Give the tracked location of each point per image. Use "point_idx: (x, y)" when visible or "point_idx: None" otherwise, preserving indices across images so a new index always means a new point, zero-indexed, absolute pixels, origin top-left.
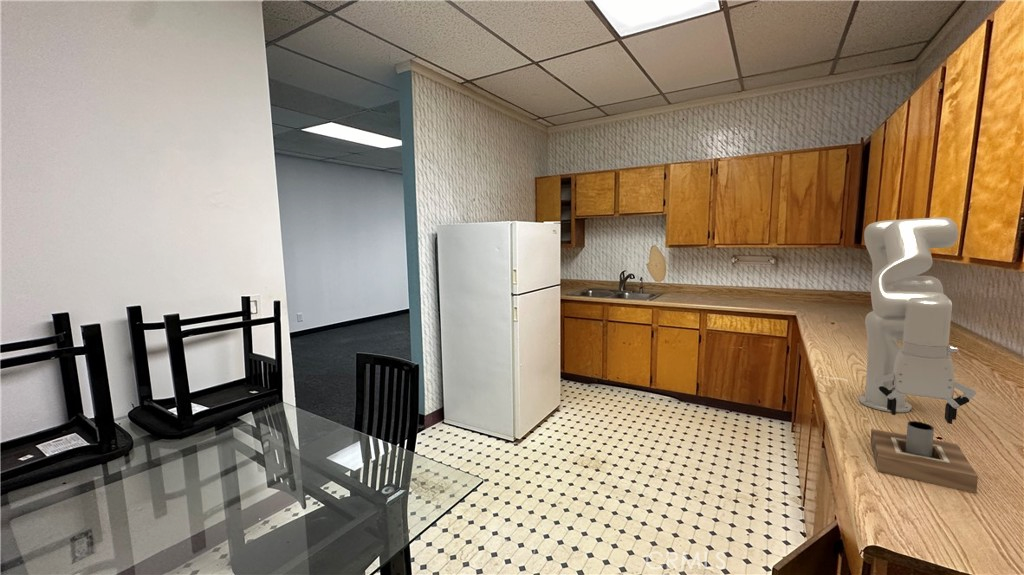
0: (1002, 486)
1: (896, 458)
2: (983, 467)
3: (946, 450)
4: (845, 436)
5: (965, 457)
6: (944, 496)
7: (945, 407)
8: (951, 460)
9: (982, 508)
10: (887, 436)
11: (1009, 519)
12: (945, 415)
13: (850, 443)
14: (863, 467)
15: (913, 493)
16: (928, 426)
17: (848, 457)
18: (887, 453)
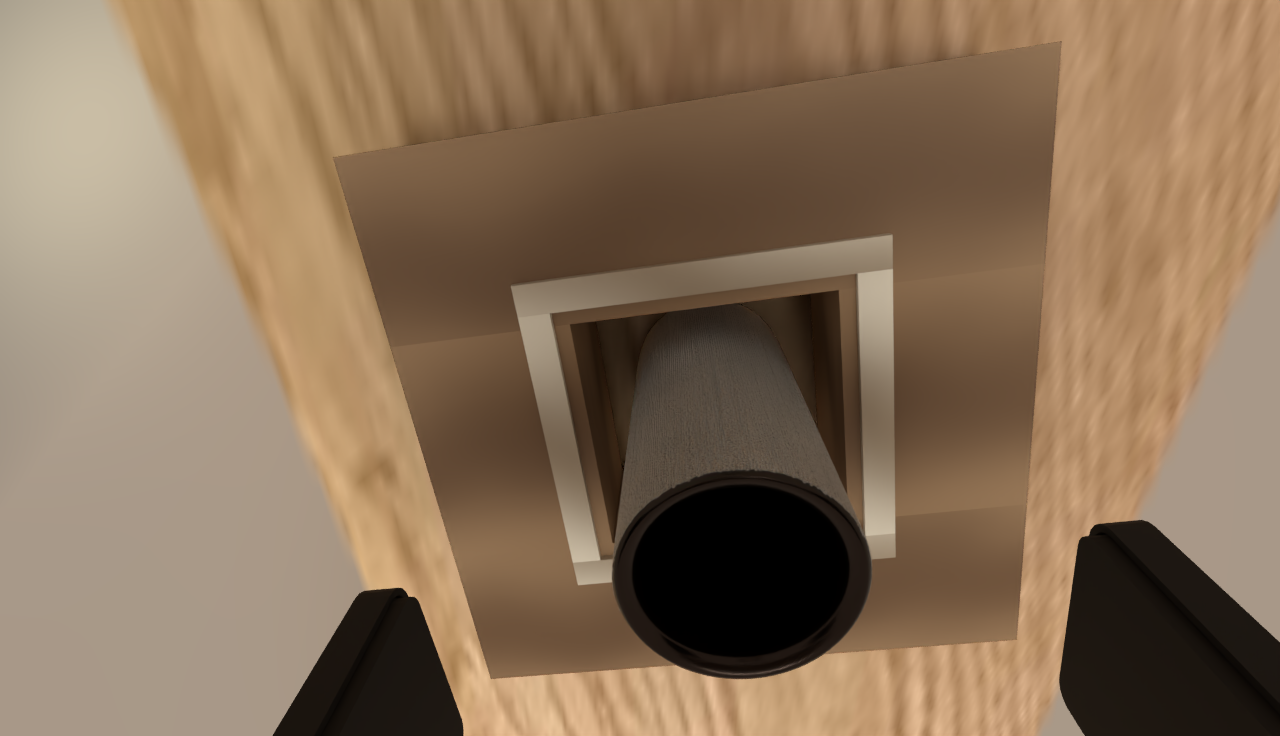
0: (1140, 373)
1: (586, 658)
2: (1138, 98)
3: (920, 304)
4: (218, 136)
5: (1033, 367)
6: (805, 666)
7: (1250, 724)
8: (914, 488)
9: (944, 683)
10: (486, 278)
11: (1027, 713)
12: (1118, 624)
13: (293, 268)
14: (449, 587)
15: (680, 712)
16: (824, 518)
17: (352, 510)
18: (531, 613)
